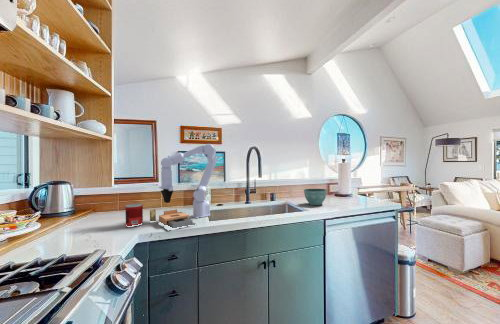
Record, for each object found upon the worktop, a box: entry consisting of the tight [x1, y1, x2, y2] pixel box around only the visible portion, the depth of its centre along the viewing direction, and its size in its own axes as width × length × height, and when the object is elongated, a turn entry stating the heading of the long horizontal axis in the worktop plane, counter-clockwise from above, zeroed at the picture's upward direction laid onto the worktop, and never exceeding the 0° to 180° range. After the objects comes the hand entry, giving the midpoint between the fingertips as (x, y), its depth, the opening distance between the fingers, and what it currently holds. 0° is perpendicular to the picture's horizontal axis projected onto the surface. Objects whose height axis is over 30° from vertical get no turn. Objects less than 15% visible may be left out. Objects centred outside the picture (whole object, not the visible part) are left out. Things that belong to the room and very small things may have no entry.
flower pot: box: [303, 188, 327, 206], centre depth 157 cm, size 16×16×11 cm
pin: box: [149, 208, 157, 222], centre depth 117 cm, size 3×3×7 cm
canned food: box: [125, 202, 144, 226], centre depth 111 cm, size 8×8×11 cm
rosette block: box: [167, 218, 196, 228], centre depth 112 cm, size 14×18×3 cm
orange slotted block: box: [158, 208, 190, 225], centre depth 114 cm, size 12×11×5 cm
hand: (167, 202), depth 122 cm, fingers closed
